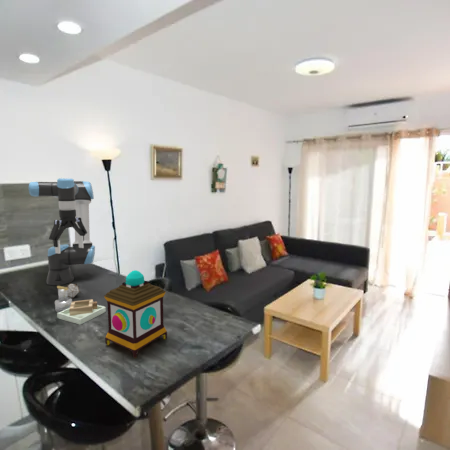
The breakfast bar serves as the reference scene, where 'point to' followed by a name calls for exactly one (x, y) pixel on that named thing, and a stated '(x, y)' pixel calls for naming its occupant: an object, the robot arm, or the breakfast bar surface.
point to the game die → (72, 290)
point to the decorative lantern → (135, 313)
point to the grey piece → (62, 299)
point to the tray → (81, 315)
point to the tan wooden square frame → (82, 307)
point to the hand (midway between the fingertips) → (70, 250)
